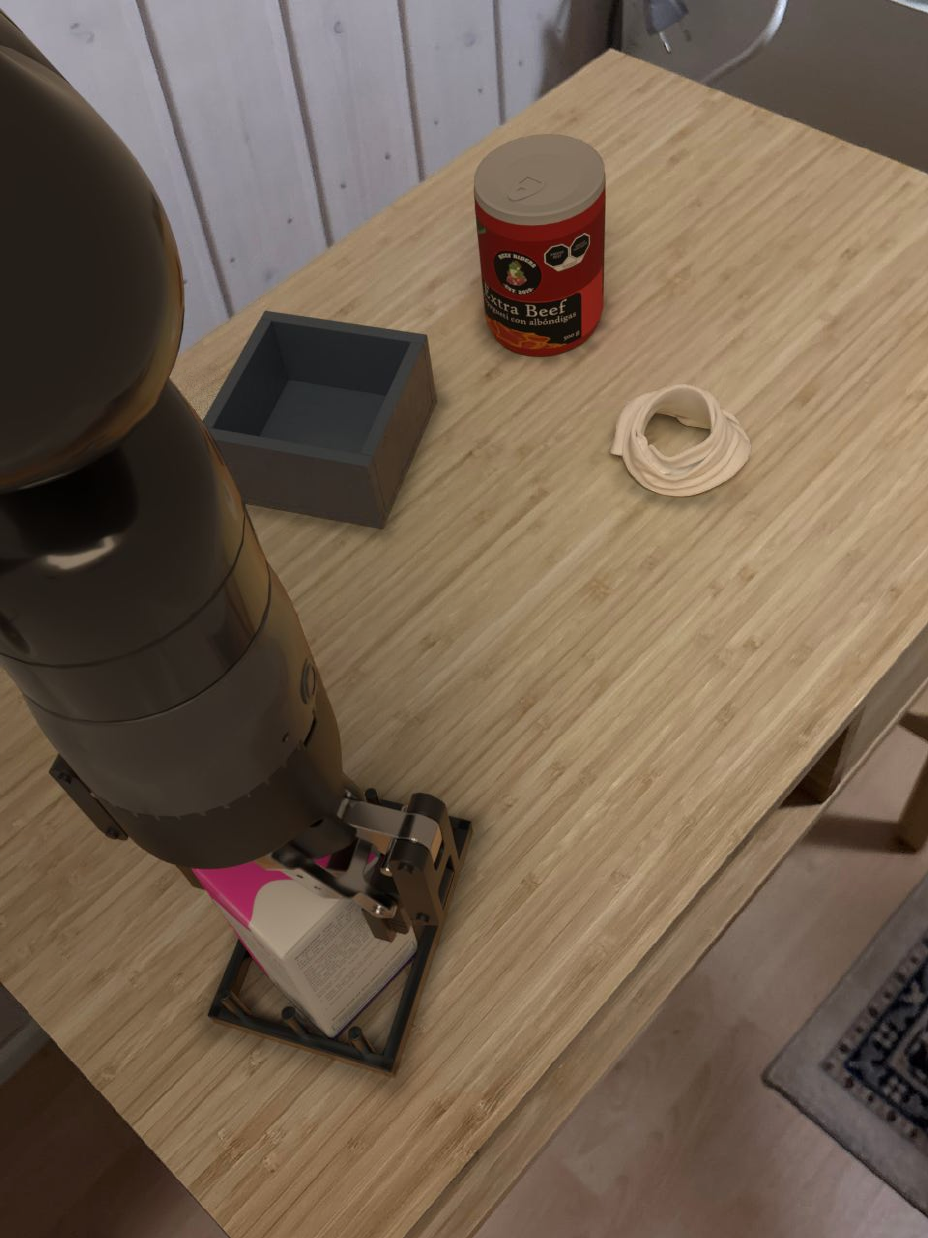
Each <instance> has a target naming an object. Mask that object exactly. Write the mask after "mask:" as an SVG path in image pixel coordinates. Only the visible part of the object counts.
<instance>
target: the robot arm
mask: <svg viewBox="0 0 928 1238" xmlns="http://www.w3.org/2000/svg"><path fill="white" fill-rule="evenodd" d="M185 301H186V300H185V283H184V274H183V265H182V262H181V257H180V254H179V249H178V244H177V241H176V238H175V235H174V231H173V228H172V225H171V221H170V219H169V216H168V214H167V212H166V209H165V206H164V204H163V202H162V200H161V198H160V196H159V195H158V193H157V191H156V189H155V187H154V184H153V183H152V181H151V180H150V178H149V176H148V174H147V173H146V171H145V170H144V168H143V166H142V165H141V164H140V162H139V160H138V159H137V157H136V156H135V154H134V153H133V152H132V150H131V149H130V148H129V147H128V145H127V144H126V142H125V141H124V140H123V138H122V137H121V136H120V135H119V134H118V133H117V132H116V131H115V129H113V127H112V126H110V124H109V122H107V121H106V120H105V119H104V118H103V116H102V115H101V114H100V113H99V112H98V111H97V110H96V108H95V107H93V106H92V104H91V103H90V102H89V101H88V100H87V99H86V98H85V97H84V96H83V95H82V94H81V93H80V92H79V91H78V90H77V89H76V88H74V86H73V85H72V84H71V83H70V82H69V80H67V78H65V77H64V75H63V74H62V73H61V72H60V70H58V68H56V66H55V65H54V64H53V63H52V62H51V61H50V60H49V59H48V57H46V55H44V53H43V52H42V51H41V50H40V49H39V48H38V47H37V46H36V44H34V43H33V41H32V40H31V39H30V38H29V37H28V36H27V35H26V34H25V33H24V31H23V30H22V29H21V28H20V27H19V26H18V25H17V24H16V23H15V21H14V20H12V18H11V17H9V15H8V14H7V13H6V12H5V11H4V10H3V9H2V8H1V7H0V666H1V668H2V669H3V670H4V671H5V673H6V674H7V675H8V676H9V677H10V679H11V680H12V681H13V682H14V684H15V685H16V686H17V688H18V690H19V691H20V693H21V695H22V696H23V699H24V701H25V703H26V706H27V707H28V709H29V711H30V713H31V714H32V716H33V718H34V719H35V722H36V724H37V725H38V727H39V729H40V730H41V732H42V733H43V735H44V736H45V737H46V738H47V740H48V741H49V742H50V744H51V745H52V746H53V748H54V749H55V751H57V755H56V757H55V759H54V760H53V762H52V764H51V766H50V768H49V770H48V774H49V775H50V776H51V778H53V779H54V780H55V782H56V783H57V784H58V786H59V787H61V789H63V791H64V792H65V793H66V794H67V795H68V797H69V798H70V799H71V800H72V801H73V802H74V803H75V804H76V806H77V807H78V808H79V809H80V810H81V811H82V812H83V813H84V815H85V816H86V817H87V818H88V819H89V820H90V822H91V823H92V824H93V825H94V826H95V827H96V828H97V829H98V830H99V831H100V832H101V833H102V834H104V836H105V837H107V838H108V839H111V840H114V841H115V840H119V841H128V839H129V838H130V840H132V841H133V842H134V844H136V845H137V846H138V847H139V848H141V849H142V850H143V851H145V852H146V853H147V854H149V855H151V856H153V857H155V858H157V859H158V860H160V861H162V862H164V863H168V864H170V865H174V866H175V867H176V868H177V869H178V870H179V871H180V872H181V874H182V875H183V877H184V878H185V879H186V880H187V881H188V883H189V884H190V885H191V887H193V888H196V889H200V890H203V891H206V890H205V889H204V887H203V886H202V884H201V883H200V881H199V880H198V878H197V877H196V875H195V874H194V872H193V871H192V869H191V868H193V869H222V868H229V867H235V866H239V865H243V864H246V863H249V862H254V863H255V864H257V865H258V866H260V867H261V868H263V869H265V870H280V871H281V872H283V873H284V874H286V875H287V876H289V877H290V878H292V879H293V880H295V881H297V882H298V883H300V884H301V885H303V886H304V887H306V888H307V889H309V890H311V891H312V892H314V893H315V894H317V895H318V896H320V897H322V898H325V899H350V900H351V901H353V902H354V903H356V904H357V905H359V906H360V907H362V909H361V910H362V913H363V915H364V917H365V919H366V921H367V923H368V925H369V927H370V929H371V931H372V934H373V936H374V938H376V939H380V940H383V941H387V942H390V943H392V942H393V941H394V939H395V937H396V934H397V933H400V934H404V935H406V934H407V933H408V932H409V930H410V927H411V925H413V924H412V923H413V921H414V922H416V924H419V925H423V926H425V925H438V924H439V922H440V919H441V916H442V913H443V910H442V908H443V905H444V902H445V899H446V896H447V893H448V890H449V887H450V883H451V880H452V877H453V874H455V872H456V869H457V866H458V863H459V858H458V854H457V850H456V846H455V842H454V837H453V833H452V829H451V825H450V821H449V816H450V815H449V813H448V809H447V805H446V803H445V802H444V801H443V800H441V799H440V798H438V797H436V796H434V795H432V794H428V793H424V792H415V793H414V792H413V793H412V794H411V797H410V798H409V802H408V804H407V805H406V804H404V805H405V806H403V807H402V809H401V811H398V810H394V809H390V808H386V807H382V806H378V805H374V804H370V803H367V802H366V797H365V791H363V788H361V787H360V786H359V785H358V784H357V783H356V782H355V781H353V780H352V779H351V778H350V777H349V776H348V775H347V774H346V772H344V769H343V768H344V767H343V753H342V743H341V742H342V741H341V734H340V730H339V725H338V720H337V717H336V714H335V712H334V708H333V707H332V704H331V700H330V698H329V696H328V693H327V690H326V689H325V685H324V683H323V680H322V677H321V675H320V672H319V669H318V665H317V664H316V662H315V659H314V656H313V652H312V650H311V648H310V645H309V642H308V639H307V638H306V634H305V632H304V629H303V626H302V624H301V621H300V619H299V616H298V613H297V611H296V608H295V606H294V604H293V601H292V599H291V596H290V595H289V593H288V591H287V589H286V587H285V586H284V584H283V583H282V581H281V579H280V578H279V577H278V574H277V573H276V572H275V570H274V568H273V567H272V565H270V563H269V561H268V560H267V558H266V555H265V553H264V550H263V548H262V544H261V543H260V540H259V537H258V535H257V532H256V529H255V527H254V525H253V521H252V519H251V517H250V514H249V511H248V509H247V507H246V505H245V504H246V503H244V501H243V499H242V496H241V493H240V491H239V488H238V487H237V485H236V482H235V480H234V478H233V475H232V473H231V471H230V468H229V466H228V464H227V462H226V460H225V458H224V456H223V454H222V452H221V450H220V449H219V447H218V445H217V443H216V442H215V440H214V438H213V437H212V435H211V433H210V432H209V430H208V429H207V427H206V425H205V424H204V422H203V418H201V417H200V415H199V414H198V412H197V411H196V410H195V408H194V406H192V404H191V403H190V402H189V400H188V399H187V398H186V397H185V395H184V394H183V393H182V392H181V390H180V389H179V387H178V386H177V385H176V384H175V383H174V381H173V380H172V379H171V375H172V372H173V370H174V369H175V368H174V367H175V365H176V361H177V358H178V355H179V352H180V348H181V344H182V337H183V334H184V333H183V332H184V324H185V313H186V312H185V311H186V308H185ZM370 853H372V854H374V855H375V856H377V857H378V858H379V859H378V861H377V864H376V867H375V870H374V873H373V875H372V878H371V881H370V883H368V882H367V881H366V880H365V878H364V870H365V867H366V864H367V861H368V859H369V856H370ZM328 855H330V858H329V860H328V863H327V865H326V868H324V867H322V866H321V865H319V864H318V863H316V862H315V861H316V860H319V859H321V858H323V857H326V856H328Z"/></svg>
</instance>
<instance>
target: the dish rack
mask: <svg viewBox="0 0 928 1238" xmlns="http://www.w3.org/2000/svg"><path fill="white" fill-rule="evenodd" d="M364 794H365V797H366V802H367V803H370V804H374V805H378V806H382V807H386V808H390V809H394V810H398V811H401V809H402V807H403V806H405V805H406V804H403V803H400V802H395V801H391V800H387V799H385V798H384V799H383V798H380V796H379V794H378V791H377V789H375V788H374V787H369V788H367V789H366V790H365V791H364ZM448 816H449V821H450V825H451V829H452V833H453V837H454V842H455V846H456V850H457V854H458V858H459V863H458V866H457V869H456V872H455V874H453V877H452V880H451V883H450V887H449V890H448V893H447V896H446V899H445V902H444V905H443V908H442V910H443V913H442V916H441V919H440V922H439V924H438V925H424V927H423V930H422V933H421V936H420V939H419V942H418V948H417V952H416V955H415V958H414V959H413V960H412V964H411V967H410V970H409V973H408V976H407V978H406V983H405V986H404V989H403V991H402V995H401V998H400V1001H399V1004H398V1007H397V1010H396V1013H395V1016H394V1019H393V1022H392V1025H391V1029H390V1031H389V1035H388V1038H387V1040H386V1044H385V1047H384V1050H383V1053H382V1054H381V1053H377V1052H376V1050H375V1049H374V1047H373V1046H372V1044H371V1042H370V1041H369V1039H368V1038H367V1036H366V1035H365V1033H364V1032H363V1030H362V1028H361V1027H359V1026H358V1025H353V1026H351V1027H350V1028H349V1029H348V1031H347V1037H348V1039H349V1040H350V1042H351V1043H352V1044H348V1043H345V1042H341V1041H339V1040H332V1039H329V1038H327V1037H326V1036H322V1035H318V1034H316V1033H314V1032H313V1031H312V1030H311V1028H310V1027H309V1026H308V1024H307V1023H306V1022H305V1020H304V1019H303V1017H301V1015H300V1014H299V1012H298V1010H296V1008H295V1007H294V1006H291V1005H287V1006H284V1007H283V1009H282V1010H281V1018H282V1019H283V1020H284V1021H285V1022H286V1024H287V1025H286V1024H283V1023H281V1022H276V1021H274V1020H270V1019H266V1018H263V1017H259V1016H256V1015H253V1013H252V1012H251V1011H250V1010H249V1009H248V1007H247V1006H246V1005H245V1004H244V1003H243V1002H242V1001H241V1000H240V998H239V997H238V994H239V992H240V989H241V988H242V985H243V983H244V980H245V978H246V975H247V973H248V970H249V967H250V965H251V962H252V960H253V958H252V956H251V955H250V953H249V952H248V951H247V949H246V948H245V946H244V945H243V944H242V942H241V941H240V939H239V938H238V939H237V942H236V944H235V947H234V949H233V951H232V953H231V956H230V959H229V961H228V964H227V966H226V968H225V971H224V973H223V976H222V978H221V981H220V983H219V985H218V988H217V989H216V992H215V995H214V997H213V999H212V1003H211V1004H210V1007H209V1009H208V1012H207V1017H208V1018H209V1019H210V1020H211V1021H212V1022H213V1023H214V1024H217V1025H221V1026H224V1027H227V1028H230V1029H233V1030H236V1031H240V1032H243V1033H247V1034H250V1035H254V1036H257V1037H260V1038H263V1039H266V1040H270V1041H272V1042H275V1043H278V1044H282V1045H285V1046H288V1047H291V1048H295V1049H299V1050H301V1051H305V1052H308V1053H312V1054H315V1055H318V1056H321V1057H324V1058H328V1059H331V1060H334V1061H337V1062H340V1063H344V1064H347V1065H350V1066H353V1067H357V1068H360V1069H364V1070H366V1071H369V1072H373V1073H376V1074H378V1075H379V1074H380V1075H382V1076H386V1077H389V1078H392V1079H395V1078H396V1076H397V1072H398V1070H399V1066H400V1063H401V1060H402V1057H403V1054H404V1051H405V1048H406V1044H407V1041H408V1039H409V1035H410V1032H411V1029H412V1026H413V1022H414V1020H415V1016H416V1013H417V1010H418V1006H419V1003H420V1000H421V998H422V994H423V991H424V988H425V986H426V982H427V978H428V975H429V973H430V970H431V966H432V962H433V960H434V957H435V953H436V950H437V947H438V944H439V941H440V938H441V935H442V931H443V929H444V925H445V922H446V918H447V915H448V912H449V909H450V906H451V903H452V899H453V897H454V893H455V890H456V887H457V884H458V880H459V878H460V875H461V871H462V868H463V865H464V861H465V860H466V855H467V852H468V849H469V847H470V843H471V840H472V837H473V834H474V827H473V822H472V820H468V819H465V818H459V817H455V816H452V815H448Z"/></svg>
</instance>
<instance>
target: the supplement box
mask: <svg viewBox="0 0 928 1238" xmlns="http://www.w3.org/2000/svg"><path fill="white" fill-rule="evenodd" d="M329 858H330V855H328V856H326V857H323V858H321V859H319V860H316V861H315V862H316V863H318V864H319V865H321V866H322V867H324V868H326V865H327V863H328V860H329ZM378 859H379V858H378V857H377V856H375V855H374V854H372V853H370V856H369V859H368V861H367V864H366V867H365V870H364V878H365V880H366V881H367V882H368V883H370V881H371V878H372V875H373V873H374V870H375V867H376V864H377V861H378ZM191 869H192V871H193V872H194V874H195V875H196V877H197V878H198V880H199V881H200V883H201V884H202V886H203V887H204V889H205V890H204V891H205V892H206V893H207V894H208V896H209V897H210V899H211V900H212V902H213V903H214V905H215V906H216V908H217V909H218V910H219V911H220V913H221V914H222V916H223V917H224V918H225V920H226V922H227V923H228V925H229V926H230V927H231V928H232V931H233V932H234V934H235V935H236V936H237V938H238V939H240V941H241V942H242V944H243V945H244V946H245V948H246V949H247V951H248V952H249V953H250V955H251V956H252V960H253V962H254V963H255V964H256V966H257V967H258V968H259V969H260V970H261V971H262V973H264V975H265V976H266V977H267V978H268V979H269V980H270V981H271V983H273V984H274V986H275V987H276V988H277V989H278V990H279V991H280V992H281V993H282V994H283V995H284V996H285V997H286V998H287V999H288V1000H289V1001H290V1002H291V1003H292V1004H293V1005H294V1007H296V1008H297V1009H298V1010H299V1011H300V1012H301V1013H302V1014H303V1015H304V1016H305V1018H307V1020H308V1021H310V1023H311V1024H312V1025H314V1026H315V1028H317V1030H319V1031H320V1032H321V1033H322V1034H323V1035H324V1037H326V1038H329V1039H332V1040H335V1041H337V1039H338V1038H339V1037H340V1036H341V1035H342V1034H343V1033H344V1032H345V1031H346V1030H347V1029H348V1028H349V1027H350V1026H351V1025H352V1024H353V1023H354V1022H355V1021H356V1019H357V1018H358V1017H359V1016H360V1015H361V1014H362V1013H363V1012H364V1011H365V1010H366V1009H367V1008H368V1007H369V1006H370V1005H371V1004H372V1002H374V1001H375V999H376V998H377V997H378V996H379V995H380V994H381V993H382V992H383V991H384V990H385V989H386V988H387V987H388V986H389V985H390V984H391V983H392V982H393V981H394V980H395V979H396V978H397V977H398V976H399V975H400V974H401V973H402V972H403V971H404V969H406V967H408V965H409V964H410V963H411V962H413V961H414V958H415V955H416V952H417V948H418V945H419V942H418V940H417V938H416V934H415V931H414V928H413V924H411V927H410V930H409V932H408V933H407V934H406V935H404V934H400V933H397V934H396V937H395V939H394V941H393V942H392V943H390V942H387V941H383V940H380V939H376V938H374V936H373V934H372V931H371V929H370V927H369V925H368V923H367V921H366V919H365V917H364V915H363V913H362V910H361V909H362V907H360V906H359V905H357V904H356V903H354V902H353V901H351V900H350V899H325V898H322V897H320V896H318V895H317V894H315V893H314V892H312V891H311V890H309V889H307V888H306V887H304V886H303V885H301V884H300V883H298V882H297V881H295V880H293V879H292V878H290V877H289V876H287V875H286V874H284V873H283V872H281V871H280V870H265V869H263V868H261V867H260V866H258V865H257V864H255V863H254V862H249V863H246V864H243V865H239V866H235V867H229V868H222V869H193V868H191Z"/></svg>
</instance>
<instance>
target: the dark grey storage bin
mask: <svg viewBox="0 0 928 1238" xmlns="http://www.w3.org/2000/svg"><path fill="white" fill-rule="evenodd" d="M429 344H430V343H429V339H428V334H426V333H419V332H413V331H407V330H399V329H392V328H386V327H379V326H373V325H365V324H358V323H353V322H352V323H351V322H345V321H338V320H332V319H325V318H317V317H313V316H312V317H311V316H304V315H299V314H297V315H296V314H291V313H285V312H278V311H272V310H264V311H263V313H262V315H261V316H260V319H259V320H258V321H257V323H256V325H255V327H254V328H253V330H252V332H251V334H250V336H249V337H248V339H247V341H246V343H245V344H244V346H243V348H242V350H241V352H240V354H239V355H238V357H237V358H236V360H235V363H234V364H233V366H232V368H231V369H230V371H229V373H228V375H227V376H226V378H225V380H224V382H223V384H222V385H221V387H220V389H219V391H218V393H217V394H216V396H215V398H214V399H213V401H212V403H211V405H210V407H209V408H208V410H207V412H206V413H205V415H204V417H203V418H202V421H203V422H204V424H205V425H206V427H207V429H208V430H209V432H210V433H211V435H212V437H213V438H214V440H215V442H216V443H217V445H218V447H219V449H220V450H221V452H222V454H223V456H224V458H225V460H226V462H227V464H228V466H229V468H230V471H231V473H232V475H233V478H234V480H235V482H236V485H237V487H238V488H239V491H240V493H241V496H242V499H243V501H244V504H248V505H253V506H259V507H264V508H269V509H275V510H279V511H285V512H290V513H295V514H301V515H306V516H311V517H315V518H321V519H326V520H332V521H337V522H342V523H348V524H353V525H357V526H362V527H367V528H373V529H378V530H383V529H384V527H385V524H386V522H387V520H388V518H389V515H390V513H391V511H392V508H393V506H394V504H395V501H396V499H397V497H398V494H399V491H400V490H401V487H402V485H403V482H404V480H405V478H406V475H407V473H408V471H409V468H410V466H411V464H412V461H413V459H414V457H415V454H416V451H417V449H418V447H419V445H420V443H421V440H422V438H423V435H424V433H425V430H426V428H427V426H428V424H429V421H430V419H431V416H432V415H433V412H434V409H435V407H436V404H437V402H438V397H437V392H436V385H435V378H434V377H435V376H434V371H433V365H432V359H431V357H432V356H431V352H430V351H431V350H430V345H429Z"/></svg>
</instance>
